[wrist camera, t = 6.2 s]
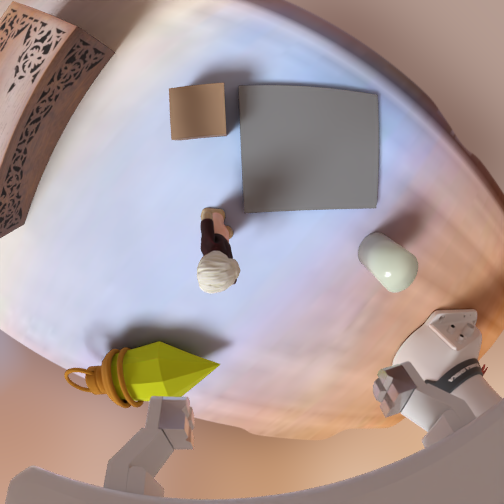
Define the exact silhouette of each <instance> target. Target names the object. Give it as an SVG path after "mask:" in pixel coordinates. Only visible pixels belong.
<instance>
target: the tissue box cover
mask: <svg viewBox="0 0 504 504" xmlns="http://www.w3.org/2000/svg"><path fill="white" fill-rule="evenodd" d="M114 53H115V52H114V51H112V50H111V49H109V48H108V47H107V46H105V45H104V44H102V43H101V42H99V41H98V40H97V39H95V38H94V37H92V36H91V35H89V34H88V33H86V32H85V31H83V30H82V29H80V28H79V27H77V26H75V25H73V24H71V23H68V22H66V21H64V20H62V19H59V18H57V17H55V16H52V15H50V14H47V13H45V12H42V11H40V10H37V9H34V8H32V7H29V6H26V5H23V4H20V3H17V2H14V1H13V2H12V3H11V5H10V6H9V7H8V9H7V10H6V11H5V13H4V14H3V16H2V17H1V19H0V238H1V237H3V236H5V235H6V234H8V233H10V232H12V231H13V230H15V229H17V228H19V227H20V226H22V225H24V224H25V220H26V217H27V214H28V211H29V208H30V205H31V202H32V200H33V197H34V194H35V192H36V189H37V186H38V184H39V181H40V179H41V177H42V174H43V172H44V170H45V167H46V165H47V163H48V161H49V158H50V156H51V154H52V152H53V150H54V148H55V146H56V144H57V142H58V140H59V138H60V136H61V134H62V132H63V130H64V129H65V127H66V125H67V123H68V121H69V120H70V118H71V116H72V114H73V113H74V111H75V109H76V108H77V106H78V104H79V103H80V101H81V100H82V98H83V97H84V95H85V93H86V92H87V90H88V89H89V87H90V86H91V84H92V83H93V82H94V80H95V79H96V77H97V76H98V74H99V73H100V72H101V70H102V69H103V68H104V66H105V65H106V64H107V62H108V61H109V60H110V58H111V57H112V56H113V55H114Z"/></svg>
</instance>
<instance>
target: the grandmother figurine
mask: <svg viewBox="0 0 504 504" xmlns="http://www.w3.org/2000/svg"><path fill="white" fill-rule="evenodd" d="M201 220H202V221H201V233H202V237H201V251H202V253H203V257H202V259H201V260H200V262H199V265H198V267H197V278H198V282H199V286H200V288H201V290H203V291H204V292H207V293H217V292H221V291H224V290H226V289H227V288H229V287H230V286H231V285H233V284H235V283H236V281H237V278H238V276H239V273H240V268H239V265H238V262H237V261H236V260H235V259H233V256H232V252H231V247H230V244H229V239H230V238H231V237H232V236H233V231H232V229H231V227H229V226H225V225H224V220H225V212H224V211H223V210H222V209H212V208H204V209H203V210H202V213H201Z"/></svg>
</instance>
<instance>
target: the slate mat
mask: <svg viewBox="0 0 504 504" xmlns="http://www.w3.org/2000/svg"><path fill="white" fill-rule="evenodd" d="M238 91H239V114H240V136H241V158H242V179H243V200H244V213H257V212H275V211H296V210H323V209H363V208H376V205H377V189H378V165H379V121H378V98H377V95H375V94H369V93H363V92H356V91H349V90H341V89H332V88H321V87H309V86H290V85H239V87H238Z"/></svg>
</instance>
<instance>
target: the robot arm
mask: <svg viewBox="0 0 504 504" xmlns="http://www.w3.org/2000/svg"><path fill="white" fill-rule="evenodd" d="M476 321H477V311H476V310H475V309H462V310H436V311H435V312H433V313H432V314H431V316H430V317H429V318H428V319H427V321H426V322H425V323H424V324H423V325H422V326H421V327H420V328H419V329H417V330H416V331H415V332H414V333H413V334H411V335H410V336H409V337H408V338H407V340H406V341H405V342H404V343H403V344H402V346H401V347H400V348H399V350H398V352H397V353H396V355H395V357H394V360H393V364H392V366H390V367H387V368H383V369H381V370H380V371H379V372H378V377H379V378H378V379H377V380H376V381H375V382H374V385H373V393H374V396H375V398H376V400H378V401H379V402H381V405H380V408H381V410H382V412H383V414H384V416H385V417H389V416H392V415H395V414H397V413H400V412H401V414H403V415H404V416H405V417H407V418H408V419H410V420H411V421H413V422H414V423H416V424H417V425H419V426H420V427H421V428H423V429H424V430H426V431H427V432H428V433H427V434H426V435H425V436H424V438H423V439H422V443H423V445H424V446H425V449H423V450H421V451H418V452H416V453H414V454H412V455H410V456H408V457H406V458H403V459H401V460H399V461H396V462H394V463H392V464H389V465H387V466H384V467H381V468H379V469H376V470H374V471H371V472H368V473H365V474H362V475H359V476H356V477H353V478H349V479H346V480H343V481H339V482H336V483H332V484H328V485H324V486H319V487H315V488H311V489H306V490H301V491H296V492H290V493H284V494H277V495H270V496H261V497H251V498H240V499H239V498H238V499H180V498H179V499H178V498H165V497H164V488H163V487H162V486H161V485H160V484H159V483H158V482H157V481H156V480H155V479H154V477H155V475H156V474H157V473H158V471H159V470H160V469H161V468H162V466H163V465H164V463H165V462H166V461H167V459H168V458H169V456H170V455H171V454H172V452H173V451H174V449H194V435H193V432H192V430H193V428H194V413H193V409H192V407H190V401H189V398H188V397H165V396H151V398H150V401H149V407H148V413H147V419H146V426H145V428H141V429H140V430H139V431H138V432H137V433H136V434H135V435H134V436H133V437H132V438H131V439H130V440H129V441H128V442H127V443H126V444H125V445H124V446H123V447H122V448H121V449H120V450H119V451H118V452H117V453H116V454H115V455H114V456H113V457H112V458H111V459H110V460H109V461H108V465H107V470H106V476H105V482H104V487H99V486H95V485H92V484H88V483H84V482H81V481H77V480H74V479H71V478H68V477H65V476H62V475H59V474H56V473H53V472H51V471H48V470H45V469H42V468H40V467H37V466H30V467H28V468H26V469H25V470H23V471H22V472H20V473H19V474H17V475H16V476H15V477H14V478H12V480H11V481H10V484H9V487H8V492H7V497H6V502H5V504H504V398H503V399H502V398H501V397H500V396H499V395H498V394H497V393H496V392H495V391H494V390H493V388H492V387H491V386H490V385H489V384H488V383H487V382H486V380H485V379H484V378H483V375H484V373H485V372H486V370H487V368H488V367H487V368H486V369H485V371H483V370H484V368H485V365H483V367H482V369H481V367H480V365H479V362H478V356H479V351H480V347H481V343H482V334H481V332H480V330H479V329H478V328H477V327H476V326H475V325H476Z"/></svg>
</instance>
